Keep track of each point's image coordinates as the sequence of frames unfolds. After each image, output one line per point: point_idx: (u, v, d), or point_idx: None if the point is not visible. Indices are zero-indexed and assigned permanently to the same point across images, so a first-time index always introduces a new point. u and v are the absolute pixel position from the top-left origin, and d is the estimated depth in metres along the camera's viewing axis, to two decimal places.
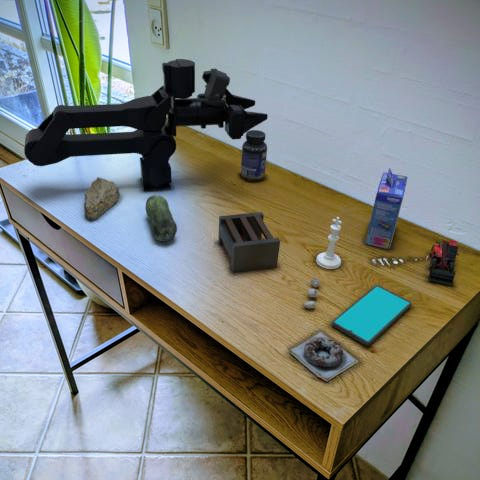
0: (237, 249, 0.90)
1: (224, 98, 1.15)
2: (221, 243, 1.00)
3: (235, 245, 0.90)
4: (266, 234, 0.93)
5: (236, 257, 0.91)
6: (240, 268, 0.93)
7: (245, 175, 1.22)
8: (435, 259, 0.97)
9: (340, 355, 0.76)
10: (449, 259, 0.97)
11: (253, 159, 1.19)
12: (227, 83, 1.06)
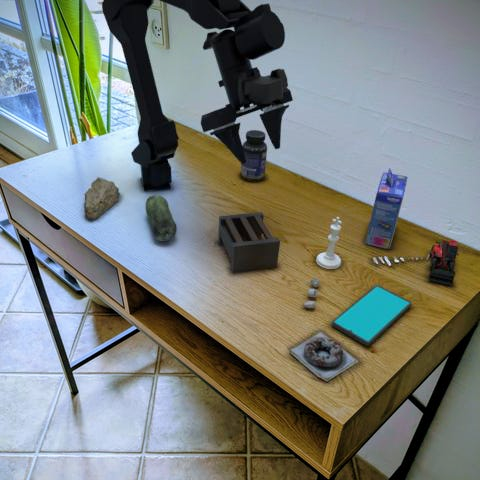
0: (237, 249, 0.90)
1: (273, 107, 0.93)
2: (221, 243, 1.00)
3: (235, 245, 0.90)
4: (266, 234, 0.93)
5: (236, 257, 0.91)
6: (240, 268, 0.93)
7: (245, 175, 1.22)
8: (435, 259, 0.97)
9: (340, 355, 0.76)
10: (449, 259, 0.97)
11: (253, 159, 1.19)
12: (261, 101, 0.84)
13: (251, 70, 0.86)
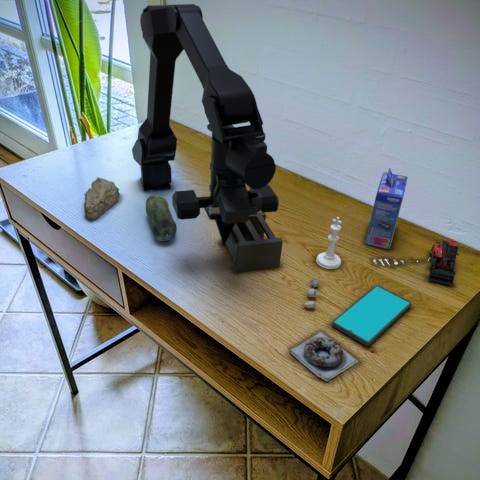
0: (240, 249, 0.90)
1: None
2: (223, 243, 1.00)
3: (238, 245, 0.90)
4: (268, 234, 0.93)
5: (239, 257, 0.91)
6: (242, 268, 0.94)
7: None
8: (435, 259, 0.97)
9: (340, 355, 0.76)
10: (449, 259, 0.97)
11: None
12: (222, 218, 0.84)
13: (236, 177, 0.84)
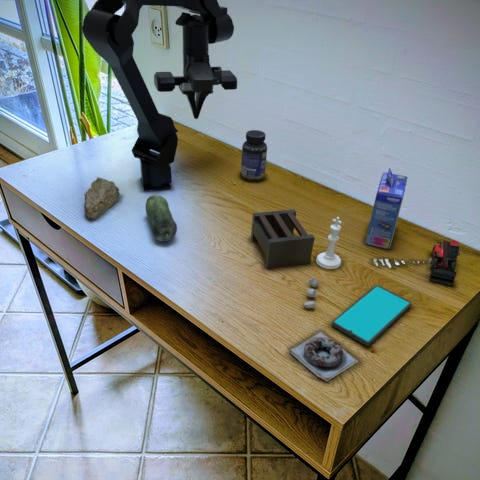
0: (273, 245, 0.92)
1: None
2: (254, 240, 1.02)
3: (271, 241, 0.91)
4: (300, 231, 0.95)
5: (271, 253, 0.93)
6: (274, 264, 0.95)
7: (245, 175, 1.22)
8: (436, 259, 0.97)
9: (340, 355, 0.76)
10: (450, 259, 0.97)
11: (253, 159, 1.19)
12: (191, 88, 1.09)
13: (202, 56, 1.09)
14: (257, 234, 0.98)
